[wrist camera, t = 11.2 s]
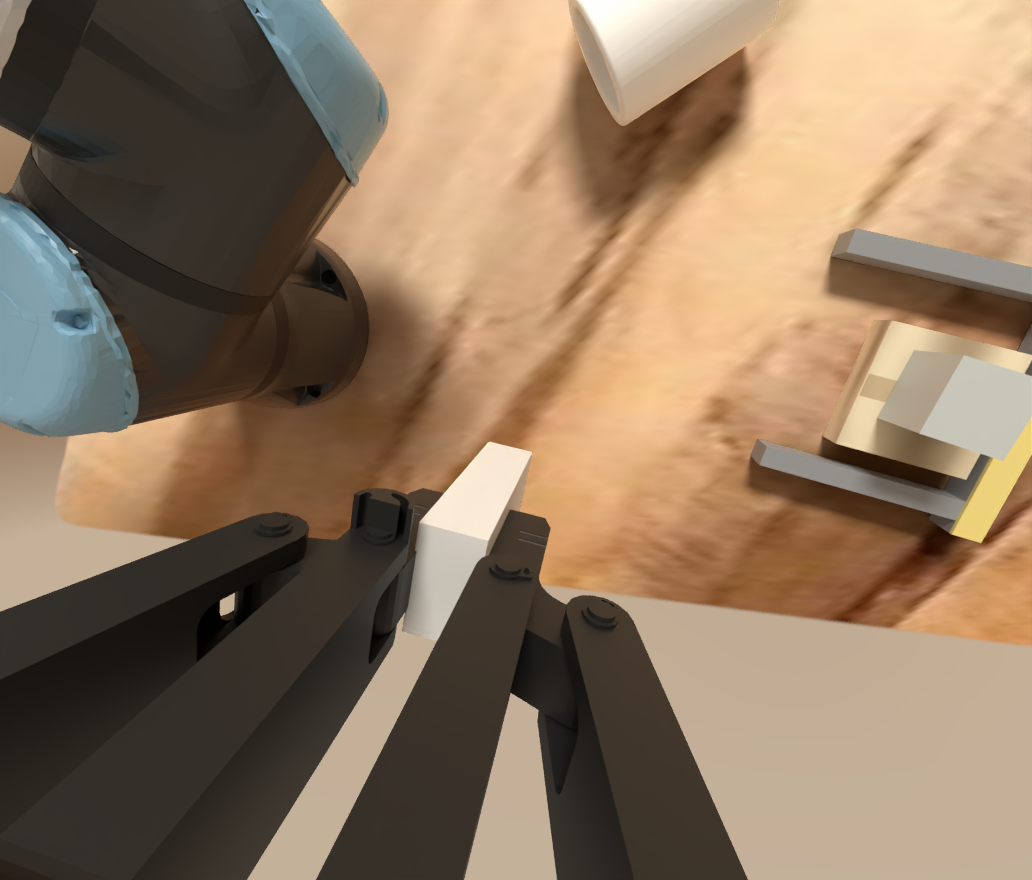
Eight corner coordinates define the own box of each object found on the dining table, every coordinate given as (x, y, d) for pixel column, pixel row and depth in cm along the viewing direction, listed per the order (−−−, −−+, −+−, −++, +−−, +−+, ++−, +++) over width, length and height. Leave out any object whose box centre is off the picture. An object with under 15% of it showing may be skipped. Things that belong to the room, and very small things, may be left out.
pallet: (819, 434, 39) (835, 443, 36) (869, 320, 37) (891, 320, 34) (939, 467, 38) (966, 479, 35) (1000, 352, 36) (1034, 355, 33)
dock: (746, 467, 40) (755, 478, 37) (845, 219, 35) (864, 211, 32) (955, 527, 38) (981, 542, 36) (1094, 274, 33) (1136, 270, 30)
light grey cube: (877, 417, 35) (919, 433, 30) (913, 349, 34) (963, 355, 29) (949, 441, 35) (1003, 461, 30) (989, 373, 33) (1052, 382, 29)
